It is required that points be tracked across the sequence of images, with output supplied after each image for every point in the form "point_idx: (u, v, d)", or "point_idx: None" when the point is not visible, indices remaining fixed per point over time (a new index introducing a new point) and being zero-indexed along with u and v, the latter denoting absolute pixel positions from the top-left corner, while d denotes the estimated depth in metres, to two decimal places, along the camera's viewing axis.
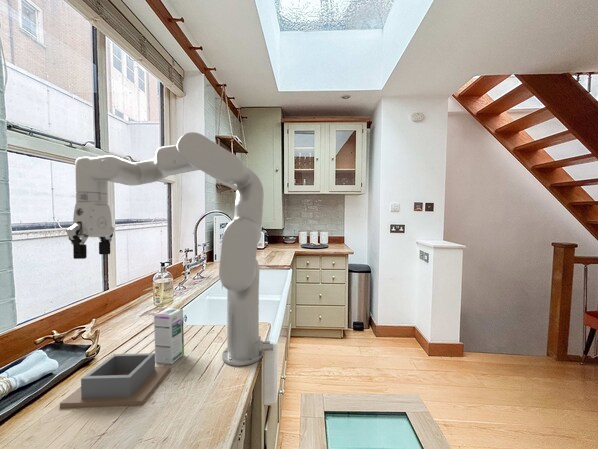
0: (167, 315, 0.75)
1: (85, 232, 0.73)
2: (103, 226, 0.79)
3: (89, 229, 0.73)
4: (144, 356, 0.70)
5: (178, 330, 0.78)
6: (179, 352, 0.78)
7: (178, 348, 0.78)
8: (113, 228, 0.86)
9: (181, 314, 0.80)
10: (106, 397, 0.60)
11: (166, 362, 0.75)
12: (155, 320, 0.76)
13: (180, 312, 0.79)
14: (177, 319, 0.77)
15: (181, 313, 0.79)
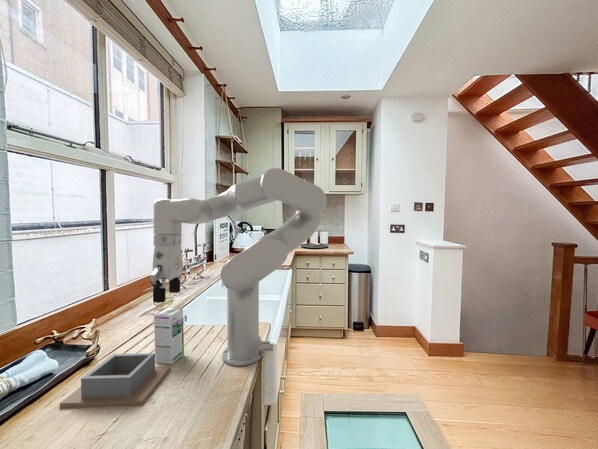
0: (167, 315, 0.75)
1: (165, 275, 0.73)
2: (177, 266, 0.79)
3: (168, 272, 0.73)
4: (144, 356, 0.70)
5: (178, 330, 0.78)
6: (179, 352, 0.78)
7: (178, 348, 0.78)
8: None
9: (181, 314, 0.80)
10: (106, 397, 0.60)
11: (166, 362, 0.75)
12: (154, 320, 0.76)
13: (180, 312, 0.79)
14: (176, 319, 0.77)
15: (181, 313, 0.79)
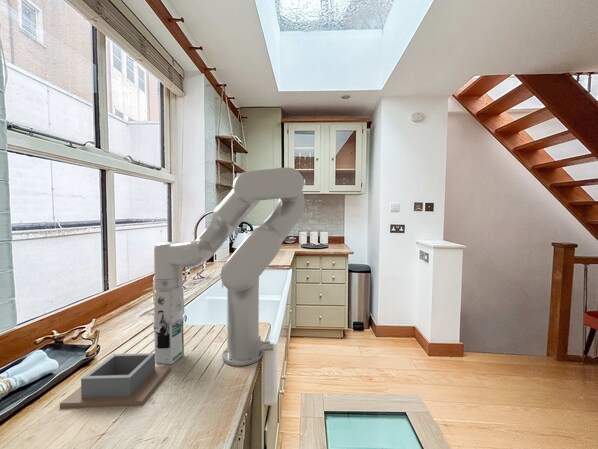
0: None
1: (167, 321, 0.73)
2: (179, 308, 0.79)
3: (170, 318, 0.74)
4: (144, 356, 0.70)
5: (178, 330, 0.78)
6: (179, 352, 0.78)
7: (178, 348, 0.78)
8: None
9: (181, 314, 0.80)
10: (106, 397, 0.60)
11: (166, 362, 0.75)
12: (154, 320, 0.76)
13: (180, 312, 0.79)
14: None
15: (181, 313, 0.79)
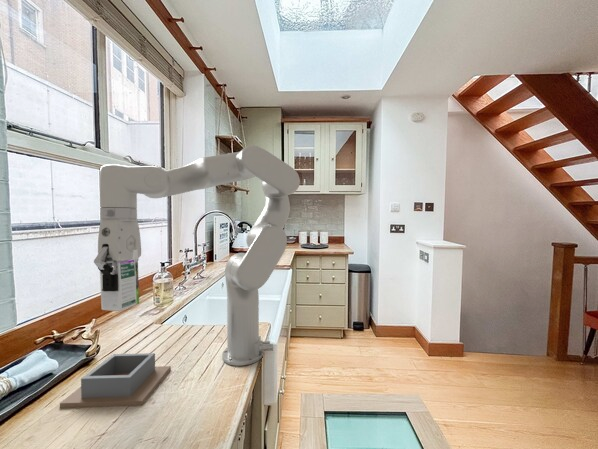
0: None
1: (113, 257, 0.60)
2: (132, 247, 0.66)
3: (117, 253, 0.60)
4: (144, 356, 0.70)
5: (130, 272, 0.64)
6: (131, 299, 0.65)
7: (131, 294, 0.65)
8: None
9: (135, 254, 0.66)
10: (106, 397, 0.60)
11: (114, 309, 0.62)
12: None
13: (133, 251, 0.66)
14: None
15: (134, 253, 0.66)
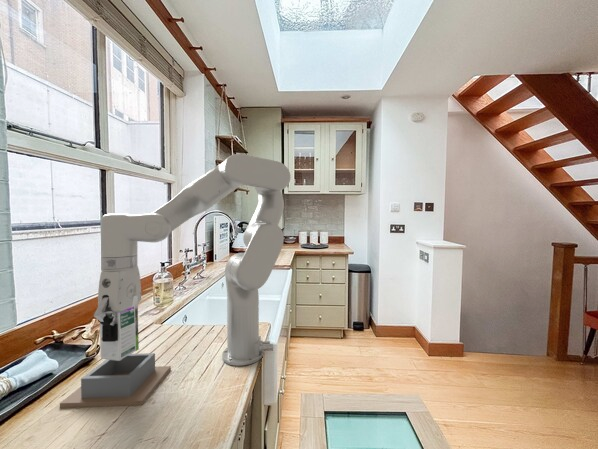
0: None
1: (113, 308, 0.60)
2: (132, 294, 0.66)
3: (118, 304, 0.60)
4: (144, 356, 0.70)
5: (130, 319, 0.65)
6: (131, 346, 0.65)
7: (130, 341, 0.65)
8: None
9: (135, 301, 0.66)
10: (106, 397, 0.60)
11: (113, 358, 0.62)
12: None
13: (133, 298, 0.66)
14: None
15: (134, 299, 0.66)
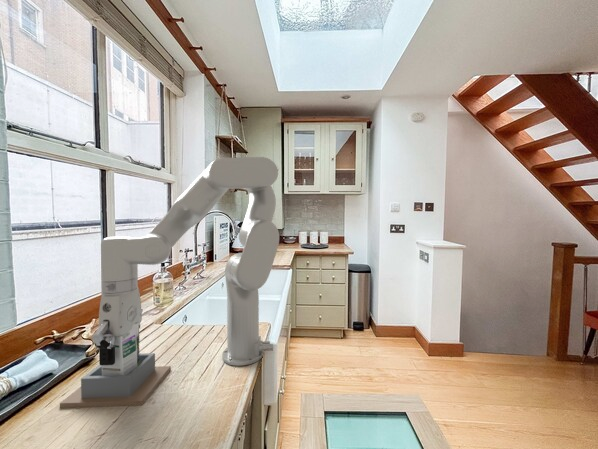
0: None
1: (113, 332, 0.60)
2: (133, 316, 0.66)
3: (118, 328, 0.60)
4: (144, 356, 0.70)
5: (132, 348, 0.65)
6: None
7: (132, 370, 0.65)
8: (141, 310, 0.73)
9: (136, 329, 0.66)
10: (106, 397, 0.60)
11: None
12: None
13: (134, 326, 0.66)
14: (129, 335, 0.64)
15: (136, 327, 0.66)
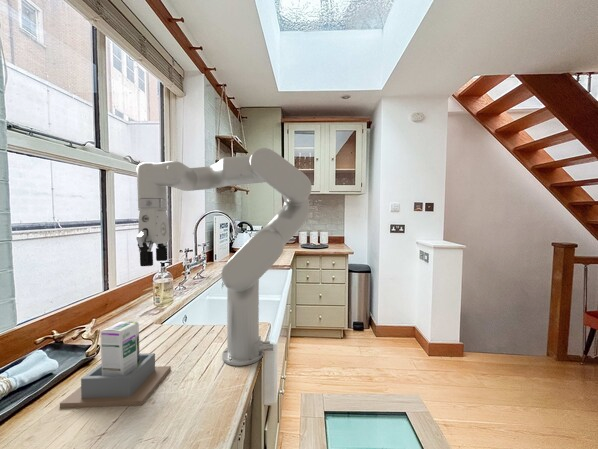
0: (117, 331, 0.62)
1: (152, 239, 0.72)
2: (164, 232, 0.78)
3: (155, 236, 0.73)
4: (144, 356, 0.70)
5: (132, 348, 0.65)
6: None
7: (132, 370, 0.65)
8: None
9: (136, 329, 0.66)
10: (106, 397, 0.60)
11: None
12: (101, 338, 0.62)
13: (135, 326, 0.66)
14: (130, 335, 0.64)
15: (136, 327, 0.66)
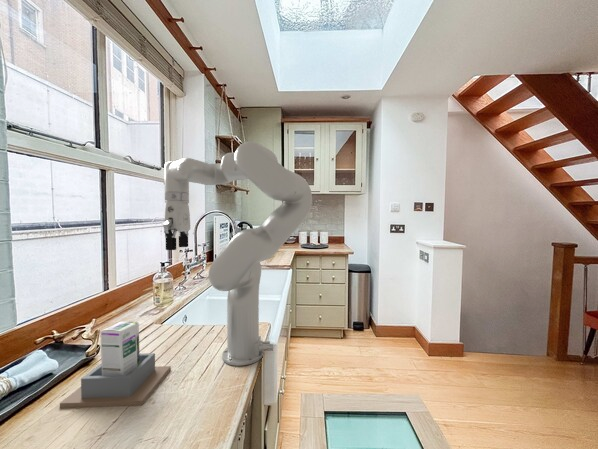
0: (117, 331, 0.62)
1: (176, 227, 0.84)
2: (186, 221, 0.90)
3: (179, 224, 0.84)
4: (144, 356, 0.70)
5: (132, 348, 0.65)
6: None
7: (132, 370, 0.65)
8: None
9: (136, 329, 0.66)
10: (106, 397, 0.60)
11: None
12: (101, 338, 0.62)
13: (135, 326, 0.66)
14: (130, 335, 0.64)
15: (136, 327, 0.66)
